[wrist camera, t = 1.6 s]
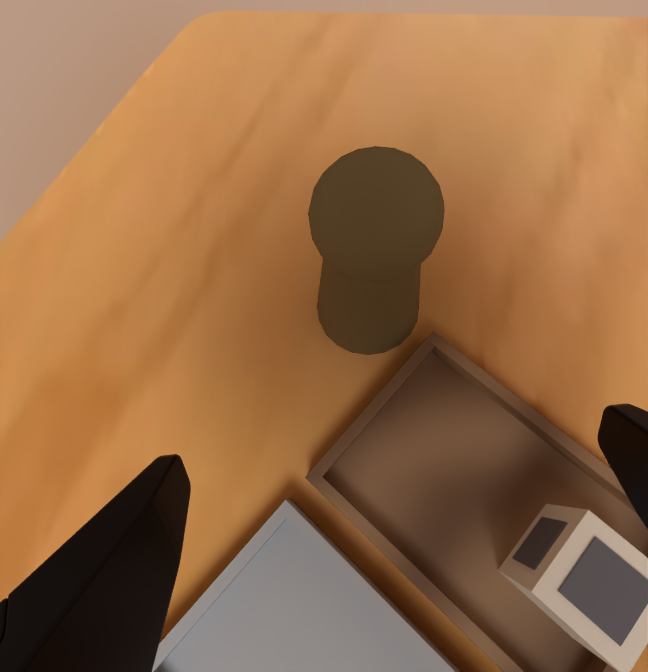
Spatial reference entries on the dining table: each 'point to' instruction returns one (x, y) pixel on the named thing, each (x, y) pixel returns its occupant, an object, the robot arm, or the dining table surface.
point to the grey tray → (296, 613)
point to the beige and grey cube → (585, 582)
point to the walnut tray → (469, 498)
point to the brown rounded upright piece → (373, 245)
